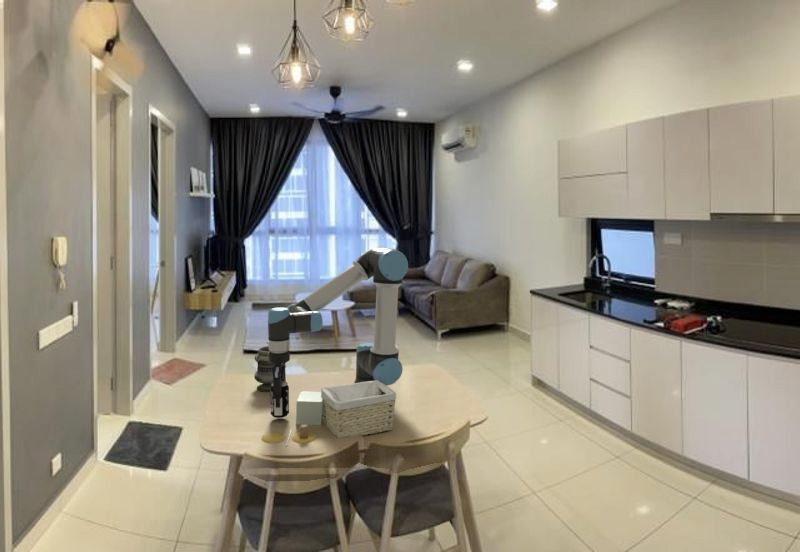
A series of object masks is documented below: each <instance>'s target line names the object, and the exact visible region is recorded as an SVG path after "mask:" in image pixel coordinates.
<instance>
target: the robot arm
mask: <svg viewBox="0 0 800 552" xmlns="http://www.w3.org/2000/svg"><path fill="white" fill-rule="evenodd" d="M408 270H409V262H408V259H407V257H406V255H405V254H404V253H403V252H401V251H399V250H398V249H395V248H391V247H390V248H388V247H384V246H376V247H373V248H371V249H369V250H368V251H366V252H365V253H363V254H362V255H360V256H359V257H357V258H355V259H354V260H353V261H352V264H351V265H350V266H349V267H347V268H346V269H344V270H343V271H342V272H340V273H339V274H337V275H336V276H334V278H332V279H330V280H329V281H327V282H326V283H325V284H323V285H321V287H319V288H318V289H316V290H315V291H313V292H312V293H310V294H309V295H308V296H306V297H305V298H303V299H301V300H300V301H299V302H297V303H291V304H290V305H288V306H287V307H280V306H279V307H273V308H270V309H269V311H268V313H267V316H268V317H267V332H268V333H267V336H268V337H267V338H268V341H267V342H266V344H267V345H268V346H269V350H270V351H269V362H271V363H274V364H275V365H274V367H273V397H272V399H274V416H278V415H282V396H281V394H282V381H285V382H287V380H286V367H287V365H286V363H287V362H290V361H291V351H290V349H291V338H290V336H291V335H290V334H301V333H313V332H320V331H321V330H322V328H323V325H324V323H323V315H322V313H321V312H320V311H321V310H323V309H324V308H326V307H327V306H328V305H330V304H332V303H333V302H334V301H335V300H337V299H338V298H340V297H341V296H343V295H344V294H346V293H347V292H348V291H350V290H351V289H353V288H354V287H356V286H357V285H359V284H360V283H361V282H362V281H368V280H369V279H371V278H372V277H373V279H372V283H373V284H374V285H375V286H376V291H375V293H376V296H375V297H376V298H375V317H374V339H373V340H374V341H373V342H363V343H360V344H358V345H357V346H356V351H355V352H356V353H355V354H356V363H355V364H356V365H355V367H356V368H355V380H354V382H353V384H354V383H360V382H367V381H375V380H378V381H379V382H381V383H383V384H385V385H386V386H391V385H393V384H395V383H397V381H398V380H399V379H400V378H401V376H402V375H403V365H402V363H401V361H400V360H399V354H400V350H399V348H397V346H396V341H397V340H396V339H397V319H398V318H397V317H398V302H399V300H398V297H399V287H401V286H402V284H403V280H404V279H403V278H404V277H405V275H407V273H408ZM385 394H386V393H384V392H382V391H381V395H385Z"/></svg>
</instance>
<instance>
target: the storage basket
mask: <svg viewBox="0 0 800 552" xmlns="http://www.w3.org/2000/svg"><path fill="white" fill-rule="evenodd" d="M381 391H382V392H384V393H386V394H385V395H381ZM320 392H321V398H322V400H323V410H324V415H323V418H324V420H323V421H324V424H325V426H326V427H327V428H328V429H329V430H330V431H331V433H333V434H334V435H335V436H336V437H337V438H338V439H341V438H347V437H353V436H360V435H362V437H363V436H364V437H365V436H368V434H370V435H374V434H377V433H378V432H379V433H383V432H387V431H386V430H388V431H392V430H393V425H394V416H395V405H396V399H397V393H396V391H395V390H393V389H392V388H391V387H389V385H385V384H383V383H381V382H379V381H378V380H375V381H367V382H360V383H354V382H353V383H347V384H341V385H333V386H328V387H327V386H326V387H322V388H321V389H320ZM382 431H383V432H382ZM373 433H374V434H373ZM379 433H378V434H379Z"/></svg>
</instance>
